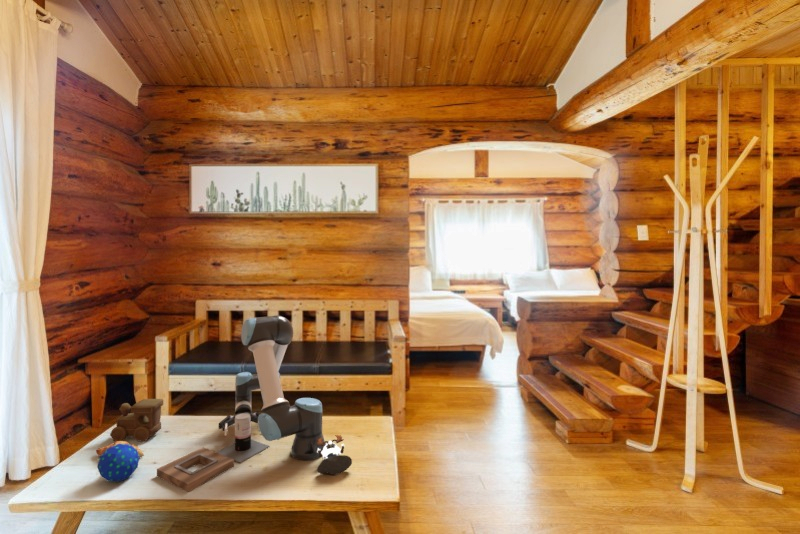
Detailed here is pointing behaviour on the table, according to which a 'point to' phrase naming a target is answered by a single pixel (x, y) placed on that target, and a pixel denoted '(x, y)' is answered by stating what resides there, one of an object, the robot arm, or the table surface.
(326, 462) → the figurine
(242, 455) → the rubber mat
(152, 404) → the wooden toy train
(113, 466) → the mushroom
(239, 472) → the table surface
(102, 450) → the croissant
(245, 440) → the beverage can
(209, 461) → the socket stand
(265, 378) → the robot arm
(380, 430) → the table surface
